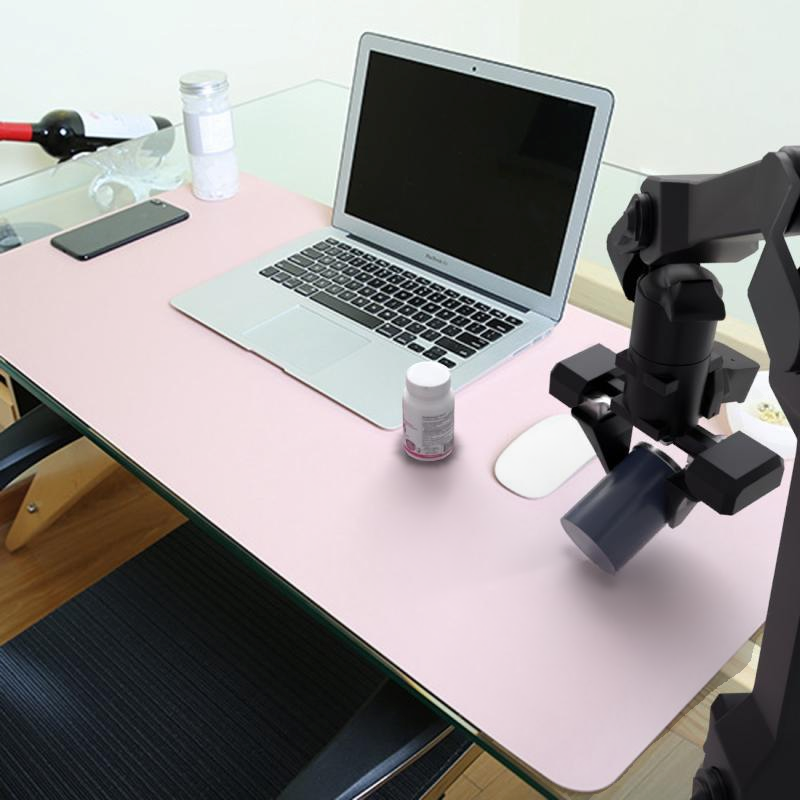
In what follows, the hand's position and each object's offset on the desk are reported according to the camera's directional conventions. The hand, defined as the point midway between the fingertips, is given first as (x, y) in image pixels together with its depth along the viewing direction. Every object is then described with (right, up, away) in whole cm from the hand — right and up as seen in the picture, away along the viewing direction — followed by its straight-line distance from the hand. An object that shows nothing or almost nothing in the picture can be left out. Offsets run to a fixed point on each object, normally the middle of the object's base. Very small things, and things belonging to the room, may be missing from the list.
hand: (645, 503), depth 77 cm
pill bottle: (-17, +4, +12) cm, 22 cm away
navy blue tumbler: (-5, -3, -2) cm, 6 cm away
